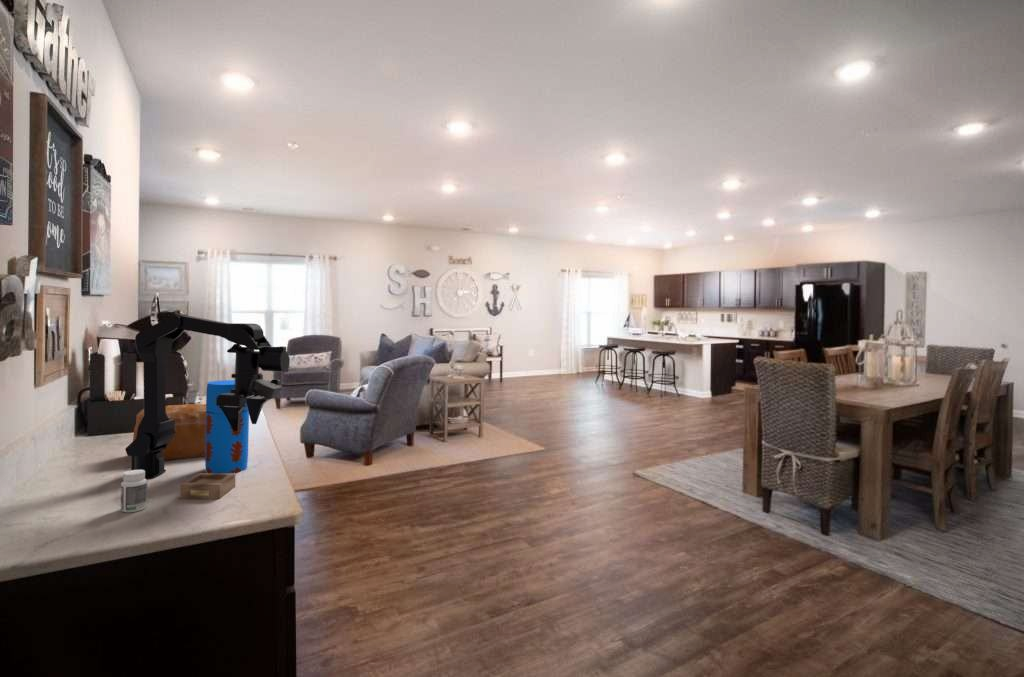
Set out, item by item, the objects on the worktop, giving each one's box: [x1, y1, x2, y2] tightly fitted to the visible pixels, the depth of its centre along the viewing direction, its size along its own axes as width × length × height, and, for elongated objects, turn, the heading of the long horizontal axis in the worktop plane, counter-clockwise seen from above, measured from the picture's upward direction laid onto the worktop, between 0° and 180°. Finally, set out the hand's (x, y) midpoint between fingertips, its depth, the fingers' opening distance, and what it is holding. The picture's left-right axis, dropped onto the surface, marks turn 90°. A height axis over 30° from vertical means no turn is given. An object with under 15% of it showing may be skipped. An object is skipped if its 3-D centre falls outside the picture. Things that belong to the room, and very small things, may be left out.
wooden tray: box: [179, 472, 237, 500], centre depth 128 cm, size 9×9×4 cm
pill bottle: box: [120, 470, 148, 513], centre depth 115 cm, size 5×5×8 cm
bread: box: [132, 403, 206, 461], centre depth 161 cm, size 14×26×16 cm, turn 127°
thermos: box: [204, 379, 250, 474], centre depth 147 cm, size 11×11×25 cm
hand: (245, 427), depth 139 cm, fingers open, 9 cm apart
